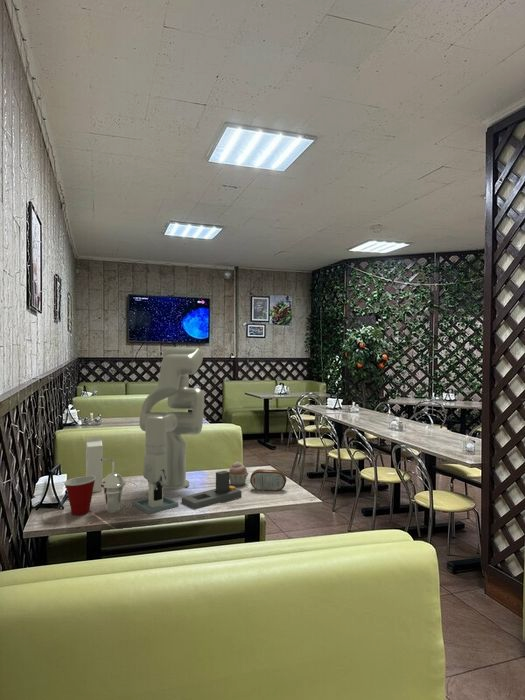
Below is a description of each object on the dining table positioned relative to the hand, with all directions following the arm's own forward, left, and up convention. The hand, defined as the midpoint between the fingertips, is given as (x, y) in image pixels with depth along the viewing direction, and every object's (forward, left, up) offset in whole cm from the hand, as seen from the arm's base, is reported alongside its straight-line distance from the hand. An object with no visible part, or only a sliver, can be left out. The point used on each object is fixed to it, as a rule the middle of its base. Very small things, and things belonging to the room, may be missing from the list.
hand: (155, 498), depth 167 cm
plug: (0, 0, -3) cm, 3 cm away
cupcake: (-2, +41, -3) cm, 41 cm away
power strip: (+8, +20, -3) cm, 22 cm away
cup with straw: (-6, -14, -3) cm, 16 cm away
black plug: (+8, +25, -3) cm, 27 cm away
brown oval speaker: (+13, +45, -4) cm, 47 cm away
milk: (-35, -9, -3) cm, 36 cm away
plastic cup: (-13, -23, -3) cm, 27 cm away
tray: (0, 0, -3) cm, 3 cm away
